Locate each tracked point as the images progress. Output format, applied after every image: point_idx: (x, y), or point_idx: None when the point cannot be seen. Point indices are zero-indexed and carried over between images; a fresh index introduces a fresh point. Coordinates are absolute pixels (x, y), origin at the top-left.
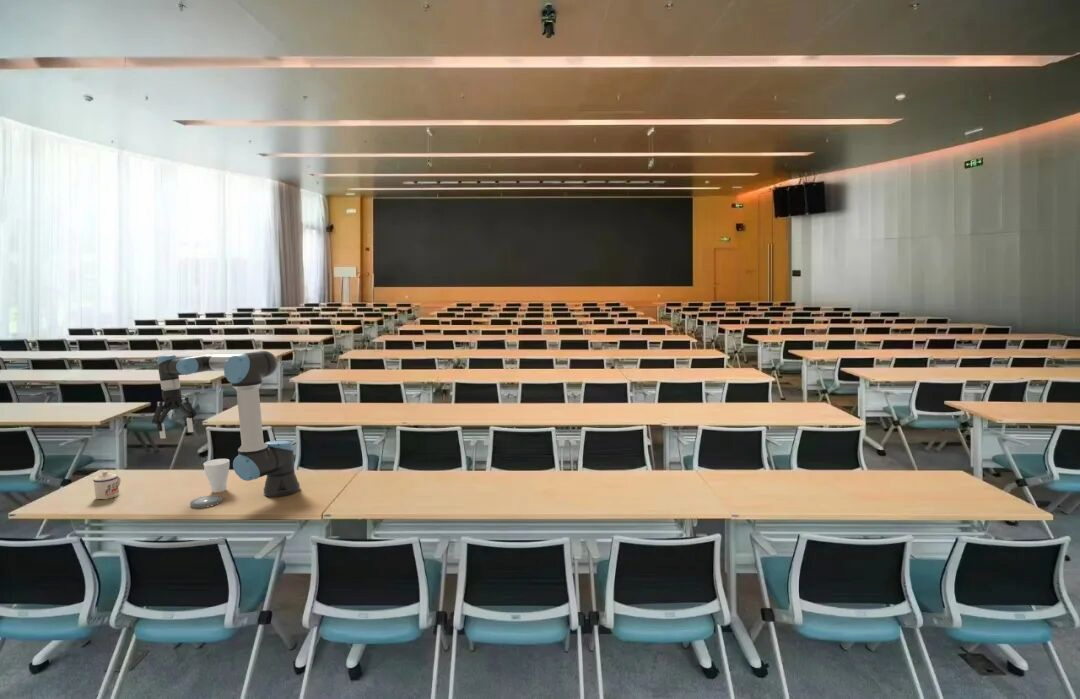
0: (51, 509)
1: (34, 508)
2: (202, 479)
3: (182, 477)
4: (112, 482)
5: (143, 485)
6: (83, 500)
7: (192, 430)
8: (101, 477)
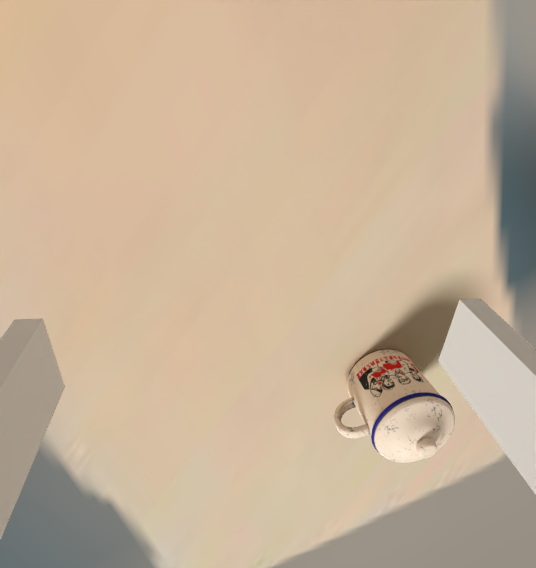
0: None
1: (496, 446)
2: (71, 233)
3: (107, 347)
4: (412, 385)
5: (250, 385)
6: None
7: (23, 333)
8: (444, 424)
